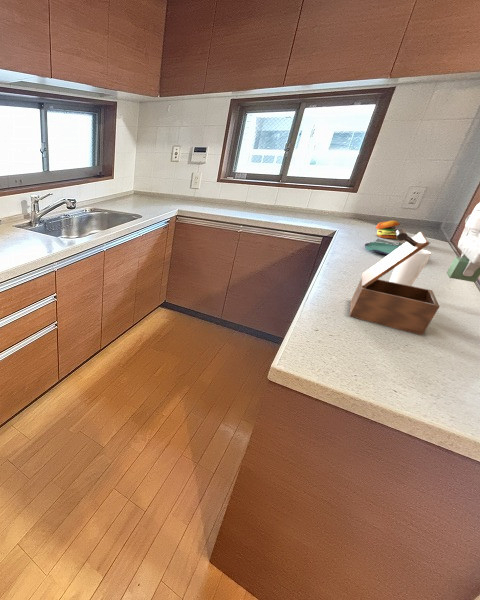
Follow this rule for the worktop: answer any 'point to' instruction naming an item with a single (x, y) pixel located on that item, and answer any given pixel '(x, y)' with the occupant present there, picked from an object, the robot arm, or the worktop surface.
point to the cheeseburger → (387, 229)
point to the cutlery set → (382, 246)
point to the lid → (395, 256)
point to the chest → (394, 305)
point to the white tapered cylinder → (410, 268)
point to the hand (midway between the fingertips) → (463, 272)
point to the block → (461, 270)
